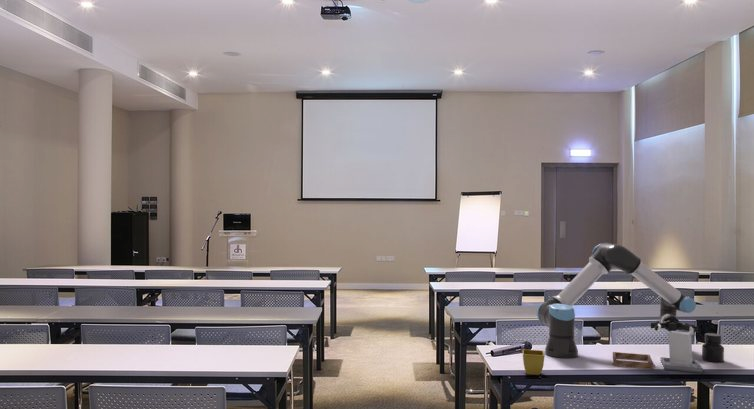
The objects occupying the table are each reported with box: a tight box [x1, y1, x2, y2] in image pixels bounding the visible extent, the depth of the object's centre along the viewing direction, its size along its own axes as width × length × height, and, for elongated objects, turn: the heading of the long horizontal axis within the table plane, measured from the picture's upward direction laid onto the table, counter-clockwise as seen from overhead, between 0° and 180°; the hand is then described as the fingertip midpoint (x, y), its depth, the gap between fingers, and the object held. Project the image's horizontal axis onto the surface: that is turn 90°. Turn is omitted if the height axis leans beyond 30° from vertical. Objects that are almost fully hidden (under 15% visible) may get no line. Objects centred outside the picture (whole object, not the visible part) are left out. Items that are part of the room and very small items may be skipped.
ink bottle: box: [701, 332, 725, 363], centre depth 284 cm, size 10×9×12 cm
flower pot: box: [521, 349, 546, 376], centre depth 258 cm, size 9×9×9 cm
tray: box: [659, 356, 704, 374], centre depth 271 cm, size 15×15×2 cm
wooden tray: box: [612, 351, 654, 370], centre depth 278 cm, size 16×17×2 cm
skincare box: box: [668, 330, 693, 367], centre depth 271 cm, size 8×6×15 cm
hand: (676, 330), depth 282 cm, fingers open, 13 cm apart
